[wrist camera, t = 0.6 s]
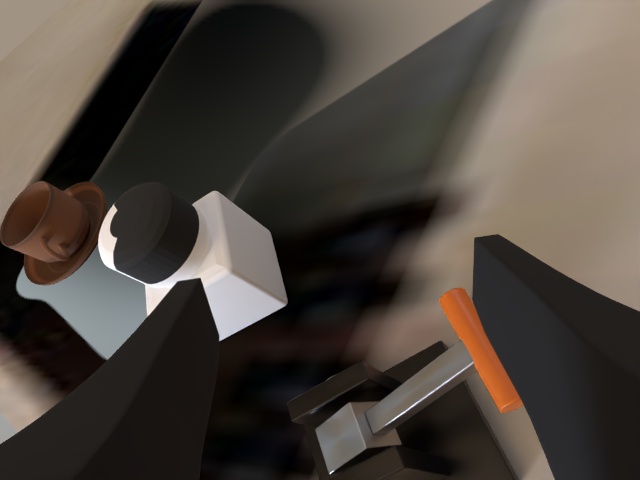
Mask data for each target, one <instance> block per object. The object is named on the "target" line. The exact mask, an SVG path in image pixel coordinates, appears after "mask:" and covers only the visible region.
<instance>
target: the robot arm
mask: <svg viewBox="0 0 640 480" xmlns="http://www.w3.org/2000/svg"><path fill="white" fill-rule="evenodd" d="M472 300H473V303H474V305H475V308H476V311H477V314H478V316H479V319H480V322H481V324H482V327H483V329H484V332H485V334H486V336H487V338H488V340H489V341H490V343H491V345H492V347H493V349H494V351H495V353H496V355H497V356H498V358H499V360H500V362H501V364H502V366H503V367H504V369H505V371H506V373H507V375H508V377H509V378H510V380H511V382H512V384H513V386H514V388H515V389H516V391H517V393H518V395H519V397H520V399H521V400H522V402H523V404H524V406H525V409H526V411H527V413H528V415H529V417H530V419H531V421H532V424H533V426H534V429H535V431H536V433H537V436H538V438H539V441H540V443H541V446H542V448H543V450H544V453H545V455H546V458H547V460H548V463H549V466H550V468H551V471H552V473H553V476H554V478H555V480H640V312H639V311H637V310H635V309H632V308H630V307H628V306H626V305H623V304H621V303H619V302H616V301H614V300H612V299H610V298H608V297H605V296H603V295H601V294H599V293H597V292H595V291H593V290H591V289H590V288H588V287H586V286H584V285H582V284H580V283H578V282H576V281H574V280H573V279H571V278H569V277H567V276H566V275H564V274H562V273H560V272H559V271H557V270H555V269H554V268H552V267H550V266H549V265H547V264H545V263H544V262H542V261H540V260H539V259H537V258H536V257H534V256H532V255H531V254H529V253H528V252H526V251H524V250H523V249H521V248H520V247H518V246H517V245H515V244H513V243H512V242H510V241H509V240H507V239H505V238H504V237H502V236H500V235H498V234H497V235H490V236H483V237H476V238H475V239H474V268H473V297H472ZM218 357H219V333H218V330H217V327H216V324H215V321H214V317H213V314H212V311H211V308H210V305H209V302H208V299H207V296H206V293H205V290H204V287H203V284H202V281H201V278H195V279H188V280H182V281H177V283H176V284H175V285H174V286H173V287H172V288H171V289H170V291H169V292H168V293H167V294H166V295H165V297H164V298H163V299H162V300H161V301H160V303H159V304H158V305H157V306H156V307H155V309H154V310H153V311H152V312H151V313H150V315H149V316H148V317H147V318H146V319H145V320H144V322H143V323H142V324H141V325H140V326H139V327H138V329H137V330H136V331H135V332H134V333H133V334H132V335H131V336H130V337H129V338H128V339H127V341H126V342H125V343H124V344H123V345H122V346H121V347H120V348H119V349H118V350H117V351H116V352H115V353H114V354H113V355H112V356H111V357H110V358H109V359H108V360H107V361H106V362H105V363H104V364H103V365H102V366H101V367H100V368H99V369H98V370H97V371H96V372H95V373H94V374H92V375H91V376H90V377H89V378H88V379H87V380H86V381H85V382H83V383H82V384H81V385H80V386H79V387H78V388H77V389H75V390H74V391H73V392H72V393H71V394H69V395H68V396H67V397H65V398H64V399H63V400H62V401H60V402H59V403H58V404H56V405H55V406H54V407H52V408H51V409H50V410H49V411H47V412H46V413H45V414H43V415H42V416H41V417H40V418H38V419H37V420H35V421H34V422H33V423H31V424H30V425H28V426H27V427H25V428H24V429H23V430H21V431H20V432H18V433H17V434H15V435H14V436H12V437H11V438H9V439H8V440H6V441H5V442H3V443H2V444H0V480H199V475H200V464H201V457H202V450H203V444H204V439H205V434H206V429H207V423H208V418H209V413H210V408H211V403H212V398H213V393H214V387H215V382H216V376H217V371H218Z"/></svg>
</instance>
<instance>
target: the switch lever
mask: <svg viewBox="0 0 640 480" xmlns="http://www.w3.org/2000/svg"><path fill="white" fill-rule="evenodd" d="M439 302H440V305H441V307H442V308H443V310H444V312H445V314H446V316H447V317H448V319H449V321H450V323H451V325H452V326H453V328H454V330H455V332H456V334H457V335H458V337H459V339H460V341H459V342H457V343H456V344H455V345H453V346H452V347H451V348H449V349H448V350H447V351H445V352H444V353H443V354H441V355H440V356H439V357H437V358H436V359H435V360H434V361H432V362H431V363H430V364H428V365H427V366H426V367H424V368H423V369H422V370H420V371H419V372H418V373H416V374H415V375H414V376H412V377H411V378H410V379H408V380H407V381H406V382H405V383H403V384H402V385H401V386H399V387H398V388H397V389H395V390H394V391H393V392H391V393H390V394H389V395H387V396H386V397H385V398H383V399H382V400H381V401H369V402H349V403H347V404H346V405H345V406H344V407H342V408H341V409H340V410H339V411H337V412H336V413H335V414H334V415H332V416H331V417H330V418H329V419H327V420H326V421H325V422H324V423H322V424H321V425H320V426H318V427H317V428H316V429H315V431H316V434H317V437H318V440H319V443H320V447H321V450H322V453H323V456H324V459H325V462H326V466H327V469H328V472H329V474H337V473H341V472H342V471H344V470H346V469H348V468H350V467H352V466H354V465H356V464H358V463H360V462H362V461H364V460H366V459H368V458H370V457H372V456H374V455H376V454H378V453H380V452H382V451H384V450H386V449H388V448H390V447H392V446H393V445H398V446H401V445H402V443H401V441H400V439H399V436H398V434H397V431H396V429H395V428H396V427H398V426H399V425H401V424H402V423H403V422H405V421H406V420H408V419H409V418H411V417H412V416H413V415H415V414H416V413H418V412H419V411H421V410H422V409H423V408H425V407H426V406H428V405H429V404H431V403H432V402H433V401H435V400H436V399H438V398H439V397H441V396H442V395H443V394H445V393H446V392H448V391H449V390H451V389H452V388H453V387H455V386H456V385H458V384H459V383H461V382H462V381H463V380H465V379H466V378H468V377H469V376H471V375H472V374H474V373H475V372H476V371H478V373H479V375H480V377H481V378H482V380H483V382H484V384H485V386H486V387H487V389H488V391H489V393H490V395H491V396H492V398H493V400H494V402H495V404H496V405H497V407H498V409H499V411H500V412H502V413H504V412H509V411H512V410H515V409H517V408H519V407H521V406H523V405H524V404H523V402H522V400H521V399H520V397H519V395H518V393H517V391H516V389H515V388H514V386H513V384H512V382H511V380H510V378H509V377H508V375H507V373H506V371H505V369H504V367H503V366H502V364H501V362H500V360H499V358H498V356H497V355H496V353H495V351H494V349H493V347H492V345H491V343H490V341H489V340H488V338H487V336H486V334H485V332H484V329H483V327H482V324H481V322H480V319H479V316H478V314H477V311H476V308H475V306H474V304H473V302H472V301H471V299H470V297H469V296H468V294H467V292H466V291H465V289H463V288H455V289H452V290H450V291H448V292H446V293H445V294H444V295H443V296H442V297H441V298H440V300H439Z"/></svg>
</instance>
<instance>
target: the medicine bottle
mask: <svg viewBox="0 0 640 480" xmlns="http://www.w3.org/2000/svg"><path fill="white" fill-rule="evenodd" d="M98 248H99V253H100V256H101V259H102V261H103V263H104V264H105V265H106V266H107V267H109V268H111V269H113V270H115V271H117V272H120V273H122V274H124V275H126V276H128V277H131V278H133V279H135V280H137V281H140V282H141V283H144V284H145V289H146V305H147V315H148V316H149V315H150V313H151V312H152V311H153V310H154V309H155V307H156V306H157V305H158V304H159V303H160V301H161V300H162V299H163V298H164V297H165V295H166V294H167V293H168V292H169V291H170V289H171V288H172V287H173V286H174V285H175V284H176V283H177V281H182V280H188V279H195V278H201V281H202V284H203V287H204V290H205V293H206V296H207V299H208V302H209V305H210V308H211V311H212V314H213V317H214V321H215V324H216V327H217V330H218V333H219V341H221V340H223V339H225V338H226V337H228V336H230V335H232V334H234V333H236V332H238V331H240V330H241V329H243V328H245V327H247V326H249V325H251V324H253V323H255V322H256V321H258V320H260V319H262V318H264V317H266V316H268V315H270V314H271V313H273V312H275V311H277V310H279V309H281V308H283V307H285V306H286V305H287V303H288V299H287V295H286V291H285V287H284V283H283V280H282V276H281V272H280V268H279V264H278V260H277V256H276V252H275V248H274V244H273V240H272V236H271V233H270V231H269V230H268V229H266V228H265V227H264V226H262V225H261V224H260V223H258V222H257V221H256V220H254V219H253V218H252V217H251V216H249V215H248V214H247V213H245V212H244V211H243V210H241V209H240V208H239V207H237V206H236V205H235V204H233V203H232V202H231V201H229V200H228V199H227V198H225V197H224V196H223V195H222V194H220V193H219V192H217V191H213V192H211V193H209V194H208V195H206V196H204V197H203V198H201V199H200V200H198V201H197V202H195V203H194V204H192V205H191V204H190V203H189V202H187V201H186V200H184V199H183V198H181V197H180V196H179V195H177V194H175V193H174V192H173V191H171V190H170V189H168V188H167V187H165V186H164V185H162V184H161V183H158V182H148V183H143V184H139V185H137V186H134V187H133V188H131V189H130V190H128V191H127V192H125V193H124V194H123V195H122V196H121V197H120V198H119V199H118V200H117V201H116V202H115V203H114V205H113V206H112V207H111V209H110V210H109V212H108V213H107V215H106V217H105V219H104V221H103V223H102V226H101V229H100V233H99V238H98Z"/></svg>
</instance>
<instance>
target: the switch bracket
mask: <svg viewBox="0 0 640 480" xmlns="http://www.w3.org/2000/svg"><path fill="white" fill-rule="evenodd" d="M447 350H448V347H447V345H445V344H444V343H443V342H442V341H439V342H437V343H435V344H434V345H432V346H430V347H428V348H426V349H425V350H423V351H421V352H419V353H417V354H415V355H414V356H412V357H410V358H408V359H406V360H405V361H403V362H401V363H399V364H397V365H396V366H394V367H392V368H390V369H388V370H387V371H385V372H381V371H379V370H377V369H376V368H374V367H372V366H370V365H368V364H366V363H364V362H362V361H360V362H358V363H356V364H354V365H353V366H351V367H349V368H347V369H346V370H344V371H342V372H340V373H339V374H337V375H334V376H332V377H330V378H328V379H327V380H326V381H324V382H323V383H321V384H319V385H317V386H316V387H314V388H312V389H310V390H309V391H307V392H305V393H303V394H301V395H300V396H298V397H296V398H294V399H293V400H291V401H289V402H287V406H288V409H289V412H290V416H291V419H292V421H293V422H296V423H300V424H303V426H304V430H305V433H306V436H307V439H308V443H309V446H310V449H311V453H312V456H313V459H314V462H315V466H316V469H317V472H318V476H319V479H320V480H518V478H517V476H516V474H515V472H514V470H513V469H512V467H511V465H510V463H509V461H508V459H507V457H506V455H505V454H504V452H503V450H502V448H501V446H500V444H499V442H498V440H497V439H496V437H495V435H494V433H493V431H492V429H491V427H490V425H489V424H488V422H487V420H486V418H485V416H484V414H483V412H482V410H481V409H480V407H479V405H478V403H477V401H476V399H475V397H474V395H473V394H472V392H471V390H470V388H469V386H468V384H467V382H466V380H463V381H462V382H461V383H459V384H458V385H456V386H455V387H453V388H452V389H451V390H449V391H448V392H446V393H445V394H443V395H442V396H441V397H439V398H438V399H436V400H435V401H433V402H432V403H431V404H429V405H428V406H426V407H425V408H423V409H422V410H421V411H419V412H418V413H416V414H415V415H413V416H412V417H411V418H409V419H408V420H406V421H405V422H403V423H402V424H401V425H399V426H398V427H396V428H395V429H396V431H397V434H398V436H399V439H400V441H401V443H402V445H401V446H398V445H393V446H392V447H390V448H388V449H386V450H384V451H382V452H380V453H378V454H376V455H374V456H372V457H370V458H368V459H366V460H364V461H362V462H360V463H358V464H356V465H354V466H352V467H350V468H348V469H346V470H344V471H342V472H341V473H337V474H329V472H328V469H327V466H326V462H325V459H324V456H323V453H322V450H321V447H320V443H319V440H318V437H317V434H316V431H315V429H316V428H317V427H318V426H320V425H321V424H322V423H324V422H325V421H326V420H327V419H329V418H330V417H331V416H332V415H334V414H335V413H336V412H337V411H339V410H340V409H341V408H342V407H344V406H345V405H346V404H347V403H349V402H369V401H381V400H382V399H383V398H385V397H386V396H387V395H389V394H390V393H391V392H393V391H394V390H395V389H397V388H398V387H399V386H401V385H402V384H403V383H405V382H406V381H407V380H408V379H410V378H411V377H412V376H414V375H415V374H416V373H418V372H419V371H420V370H422V369H423V368H424V367H426V366H427V365H428V364H430V363H431V362H432V361H434V360H435V359H436V358H437V357H439V356H440V355H441V354H443V353H444V352H445V351H447Z"/></svg>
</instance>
